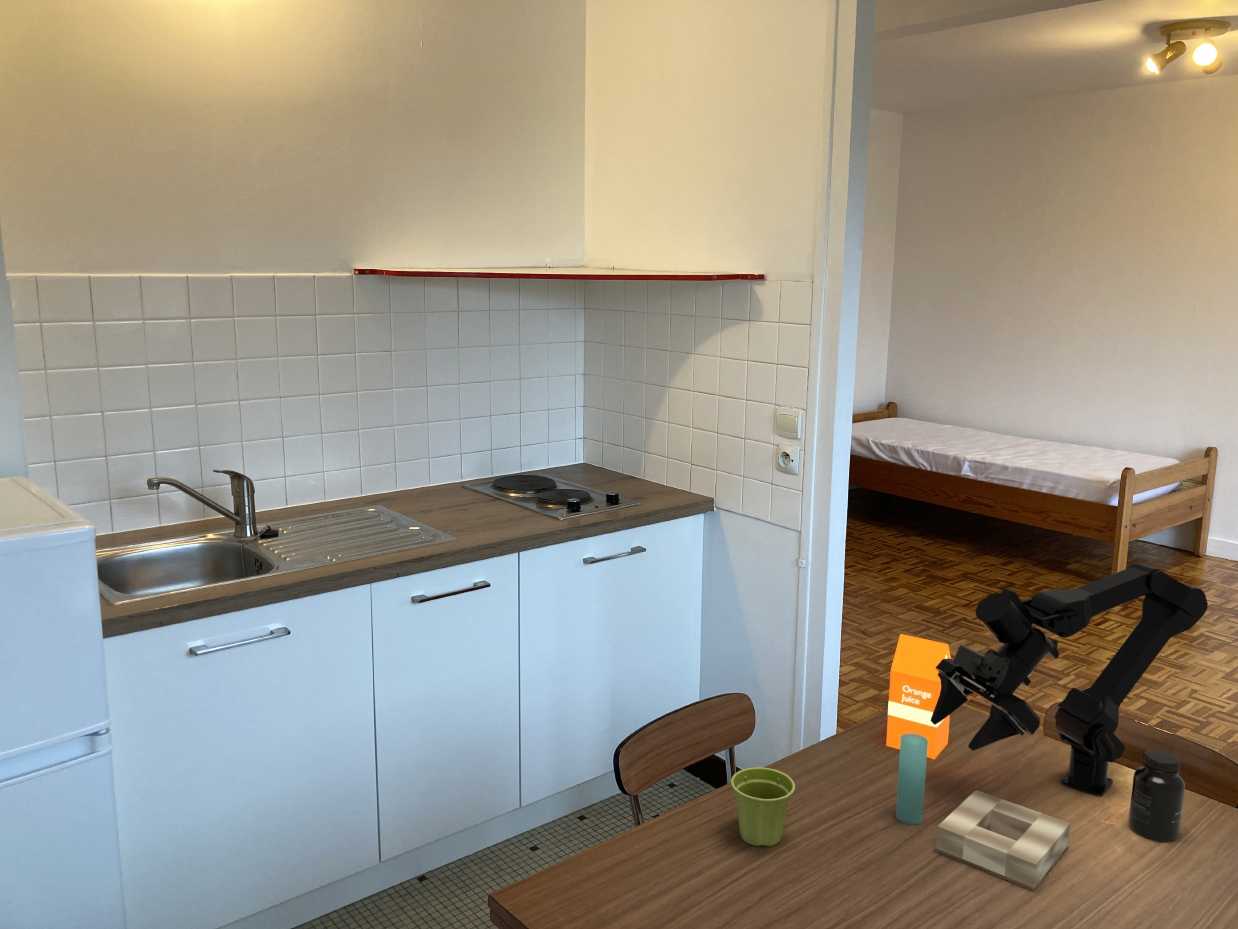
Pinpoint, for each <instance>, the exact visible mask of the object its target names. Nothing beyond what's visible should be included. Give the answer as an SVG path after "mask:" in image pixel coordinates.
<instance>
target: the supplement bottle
mask: <svg viewBox="0 0 1238 929" xmlns="http://www.w3.org/2000/svg"><path fill="white" fill-rule="evenodd" d="M1141 765H1142V766H1140V767H1138V768H1137V769H1136V770H1135V771H1134V773H1133V779H1132V785H1131V786H1132V788H1131V795H1130V796H1131V797H1130V805H1129V812H1128V814H1129V815H1128V824H1129V826H1130V828H1131V830H1133V831H1134V832H1135V833H1137V834H1138V835H1140V836H1142V837H1144V838H1147V839H1149V840H1154V841H1159V842H1170V841H1174V840H1176V839H1177V838H1178V837H1179V834H1180V829H1181V824H1182V822H1181V821H1182V817H1183V816H1182V815H1183V807H1184V799H1185V789H1186V784H1185V781H1184V779H1183V777H1182V776H1181V775H1180V771H1181V768H1180V767H1181V760H1180V758H1179V757H1178V756H1176V755H1174V754H1173V753H1171V752H1167V751H1163V750H1159V749H1149V750H1146V751H1145V752H1143V757H1142V761H1141Z"/></svg>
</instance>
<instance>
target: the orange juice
mask: <svg viewBox="0 0 1238 929" xmlns="http://www.w3.org/2000/svg"><path fill="white" fill-rule="evenodd" d="M894 652H895V653H894V657H893V661H892V663H891V668H890V677H889V678H890V679H889V692H888V694H889V695H888V696H889V697H888V705H887V706H888V707H887V727H886V728H887V729H886V744H885V746H886V747H890V748H894V749H895V750H900V741H901V736H902V735H904V734H918V735H921V736H923V737H925V738H926V739H927V740H928V749H927V759H928V758H929V759H932V760H936V758H937V757H938V756H939V754H941V752H942V751H943V750H944V749H945V748H946V746H947V745H948V743H949V733H950V716H951V714H950V715H949V716H947V717H946V718H945V719H943V720H942V721H941V722H939V723H937V724H936V725H934V724H933V723H932V722H931V721H930V720H931V717H932V714H933V712H934V709H935V706H936V703H937V701H938V698H939V695H940V691H941V681H940V678H939V677H938V671H937V670H936V668H935V667H936V666H937V665H938V664H939V663H940V662H941V660H942V659H947V658H950V659H952V657H951V652H950V647H949V644H947V643H946V642H945V643H944V642H940V641H935V640H931V639H930V640H929V639H924V638H921V637H915V636H911V635H907V634H902V633H900V634H899V638H898V641H897V645H896V650H895V651H894Z"/></svg>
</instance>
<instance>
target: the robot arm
mask: <svg viewBox="0 0 1238 929" xmlns="http://www.w3.org/2000/svg"><path fill="white" fill-rule="evenodd" d="M1143 596H1144V598H1143V600H1142V602H1141V619H1140V621H1139V622H1138V623H1137V624H1136V626H1135V627H1134V629H1133V630H1132V632H1131V633H1130V634H1129V635H1128V637H1127V638H1126V639H1125V641H1124V642H1123V643H1122V644H1121V646H1120V647H1119V648H1118V650H1117V651H1116V653H1114V655H1113V657H1112V658H1111V659H1110V661H1109V662H1108V663H1107V665H1106V666H1105V667H1104V668H1103V670H1102V671H1101V672H1100V674H1099V676H1098V677H1097V678H1096V679H1095V680H1094V682H1093V683H1092V684H1091V686H1089V687H1087V688H1085V689H1081V690H1080V689H1078V688H1076V687H1072V688H1071V689H1070V690H1069V691H1068V692H1067V694H1066V696H1065V697H1064V699H1063V700H1062V701H1061V702H1060V703H1058V704H1057V707H1058V709H1057V711H1056V712H1055V715H1054V719H1055V727H1056V728H1055V729H1056V730H1057V731H1058V735H1059V739H1060V740H1061V741H1062V742H1066V743H1067V744H1069V745H1070V751H1069V752H1070V753H1069V763H1068V771H1067V772H1066V773H1065V775H1063V777H1062V778H1061V779H1060V784H1062V785H1064V786H1067V787H1070V788H1071V787H1072V788H1074V789H1076V790H1080V791H1083V792H1087V793H1088V794H1089V793H1090V794H1092V795H1096V796H1099V797H1103V795H1104V794H1105V793H1106V792H1107V791H1108V790H1109V788H1110V787H1111V786H1112V784H1113V782H1114V780H1113V779H1112V778H1109V777H1108V769H1109V763H1115V761H1116V760H1118V759H1121V758H1122V756H1123V753H1124V751H1125V749H1126V745H1125V744H1124V743H1123V742H1122V741H1121V740H1120V739H1119V737H1118V736H1117V735H1116V734H1115V732H1116V730H1117V729H1118V727H1119V716H1120V715H1119V713H1120V711H1119V710H1120V706H1121V704H1123V702H1124V701H1125V699H1126V698H1127V696H1128V695H1129V694H1130V693H1131V691H1132V690H1133V688H1134V687H1135V686H1136V684H1138V683H1139V680H1140V679H1141V678H1142V676H1143V675H1144V673H1145V672H1146V671H1147V670H1148V668H1149V667H1150V666H1151V665H1152V663H1153V662H1154V660H1155V659H1156V658H1157V657H1158V655H1159V654H1160V653H1161V651H1162V650H1163V648H1164V647H1165V645H1166V644H1167V643H1168V642H1169V641H1170V639H1171V638H1173V637H1175V636H1177V635H1179V634H1182V633H1184V632H1186V631H1189V630H1191V629H1192V628H1193V627H1194V625H1196V624H1197V623H1198V621H1199V620H1201V619H1202V618H1203V617H1204V615H1205V614H1206V613H1207V611H1208V607H1209V606H1208V603H1209V602H1208V600H1207V595H1206V594H1205V591H1203V589H1201V588H1199V587H1196V586H1193V585H1191V584H1187V583H1184V582H1181V581H1179V580H1177V579H1175V578H1173V577H1172V576H1170V575H1169V574H1167V573H1165V572H1164V571H1163V570H1162V569H1160V568H1157V567H1154V566H1151V565H1148V564H1146V563H1142V562H1137V563H1136V562H1135V563H1132V564H1131V565H1129V567H1127V568H1126V569H1123V570H1121V571H1118V572H1116V573H1113V574H1110V575H1107V576H1105V577H1102V578H1101V579H1097V580H1095V581H1092V582H1090V583H1087V584H1084V585H1083V586H1080V587H1076V588H1053V589H1050V590H1045V591H1040V592H1038V593H1036V594H1035V595H1033V596H1032V597H1031V598H1028V599H1024V600H1021V599H1020V597H1019V595H1018V594H1017V593H1016V591H1014V590H1012V589H1009V588H1007V587H1005V588H1003V589H1002V590H1001V592H997V593H993V594H990V595H988V596H987V597H984V598H982V599H981V600H980V601H979V602H978V604H977V606H976V608H975V616H976V618H977V619H978V620H979V622H980V624H982V625H983V626H984V628H985V629H987V630H988V632H989V634H991V635H992V636H993V638H995V639H996V641H997V642H999V643H1001V644H1002V645H1001V646H1000V647H999V648H998V649H997V650H994V649H992V648H990V649H988V650H986V652H985V653H984V654H983V653H981V652H980V651H977V650H974V649H971V648H970V647H968V646H965V645H962V644H960V645H959V646H958V648H957V651H956V653H955V655H954V657H953V659H952V658H951V659H950V658H947V659H942V660H941V662H940V663H939V664H938V665H937V666H936V667H935V668H936V670H937V671H938V677H939V678H940V681H941V691H940V695H939V698H938V701H937V703H936V706H935V709H934V712H933V714H932V717H931V720H930V721H931V722H932V723H933V724H934V725H936V724H937V723H939V722H941V721H942V720H943V719H945V718H946V717H947V716H949V715H950V716H951V714H952V713H953V712H955V711H956V710H958V709H959V708H960V707H961V706H962V705H964V704H965V703H966V702H968V700H969V699H968V697H967V696H969V695H972V694H975V695H977V696H978V697H980V698H982V699H984V700H985V701H987V702H989V703H990V704H991V705H990V711H989V716H988V718H987V720H986V721H985V722H984V723H983V725H982V726H981V727H980V728H979V729H978V731H977V732H976V733H975V735H974V736H973V737H972V738H971V741H970V742H969V743H968V745H967V747H968V748H969V749H970V750H971V751H973V752H974V751H976V750H979V749H982V748H984V747H986V746H988V745H991V744H994V743H995V742H998V741H1002V740H1005V739H1008V738H1011V737H1014V736H1017V735H1019V736H1024V735H1025V733H1026V734H1029V735H1030V736H1033V735H1034V734H1035V733H1036V732H1037V730H1038V729H1039V728H1040V724H1041V717H1040V716H1039V715H1038V714H1037V713H1036V712H1035V710H1033V709H1032V707H1031V706H1030V705H1029V704H1028V703H1027V701H1025V700H1024V699H1022V698H1020V697H1019V696H1017V695H1015V694H1014V693H1015V692H1016V691H1017V690H1018V689H1019V687H1020V686H1021V685H1024V686H1026V687H1028V686H1029V685H1030V684H1031V683H1032V681H1031V679H1030V678H1029V675H1031V673H1032V672H1033V671H1034V670H1035V669H1036V668H1037V666H1038V665H1039V664H1040V663H1041V661H1042V660H1043V659H1044V658H1045V657H1046V656H1047V655H1048V656H1050V657H1052V658H1054V659H1057V660H1058V659H1059V656H1060V651H1059V647H1058V644H1059V641H1058V640H1056V639H1054V638H1052V637H1049V636H1047V635H1046V634H1045V632H1043V630H1044V631H1047V632H1049V633H1051V634H1052V635H1053V634H1054V635H1055V636H1058V637H1060V638H1065V639H1066V638H1070V637H1072V636H1074V635H1076V634H1078V633H1079V632H1081V631H1082V630H1083V629H1085V628H1087V627H1088V626H1089V624H1090V622H1091V619H1092V618H1094V617H1095V616H1098V615H1099V614H1103V613H1105V612H1107V611H1109V610H1111V609H1115V608H1117V607H1119V606H1121V605H1124V604H1127V603H1129V602H1132V601H1134V600H1136V599H1139V598H1142V597H1143ZM1033 625H1034V626H1036V627H1034V626H1033ZM1037 627H1038V628H1037ZM1041 629H1042V630H1041Z"/></svg>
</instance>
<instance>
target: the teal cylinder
mask: <svg viewBox="0 0 1238 929" xmlns="http://www.w3.org/2000/svg"><path fill="white" fill-rule="evenodd" d="M927 749H928V740H927V739H926V738H925V737H923V736H921V735H918V734H904V735H902V736H901V741H900V749H899V759H898V760H899V761H898V776H897V788H896V789H897V790H896V808H895V818H896V819H897V820H898V821H900V823H903V824H907V825H919V824H921V823H922V822H923V820H924V806H925V805H924V804H925V790H926V776H927V775H926V774H927V763H928V762H927V760H928V757H927Z"/></svg>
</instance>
